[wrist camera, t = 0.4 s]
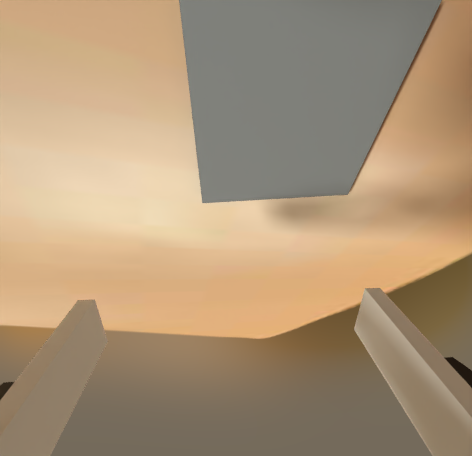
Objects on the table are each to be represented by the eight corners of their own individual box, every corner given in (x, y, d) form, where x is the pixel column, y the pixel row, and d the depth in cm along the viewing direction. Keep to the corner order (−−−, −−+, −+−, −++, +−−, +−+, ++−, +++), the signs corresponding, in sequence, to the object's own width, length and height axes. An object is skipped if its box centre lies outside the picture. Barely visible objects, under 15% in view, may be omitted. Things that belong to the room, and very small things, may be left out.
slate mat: (179, -7, 13) (178, -4, 12) (433, -4, 14) (442, -2, 13) (202, 197, 23) (202, 203, 23) (344, 189, 24) (347, 194, 24)
